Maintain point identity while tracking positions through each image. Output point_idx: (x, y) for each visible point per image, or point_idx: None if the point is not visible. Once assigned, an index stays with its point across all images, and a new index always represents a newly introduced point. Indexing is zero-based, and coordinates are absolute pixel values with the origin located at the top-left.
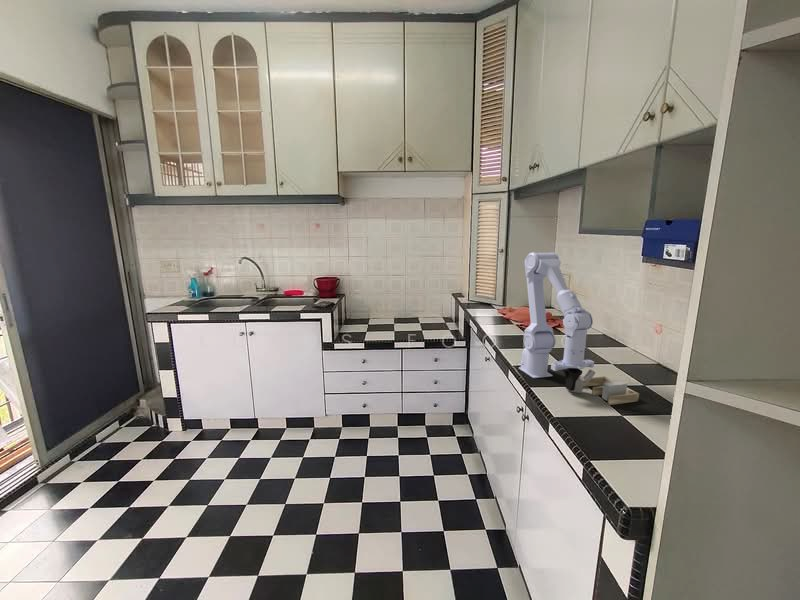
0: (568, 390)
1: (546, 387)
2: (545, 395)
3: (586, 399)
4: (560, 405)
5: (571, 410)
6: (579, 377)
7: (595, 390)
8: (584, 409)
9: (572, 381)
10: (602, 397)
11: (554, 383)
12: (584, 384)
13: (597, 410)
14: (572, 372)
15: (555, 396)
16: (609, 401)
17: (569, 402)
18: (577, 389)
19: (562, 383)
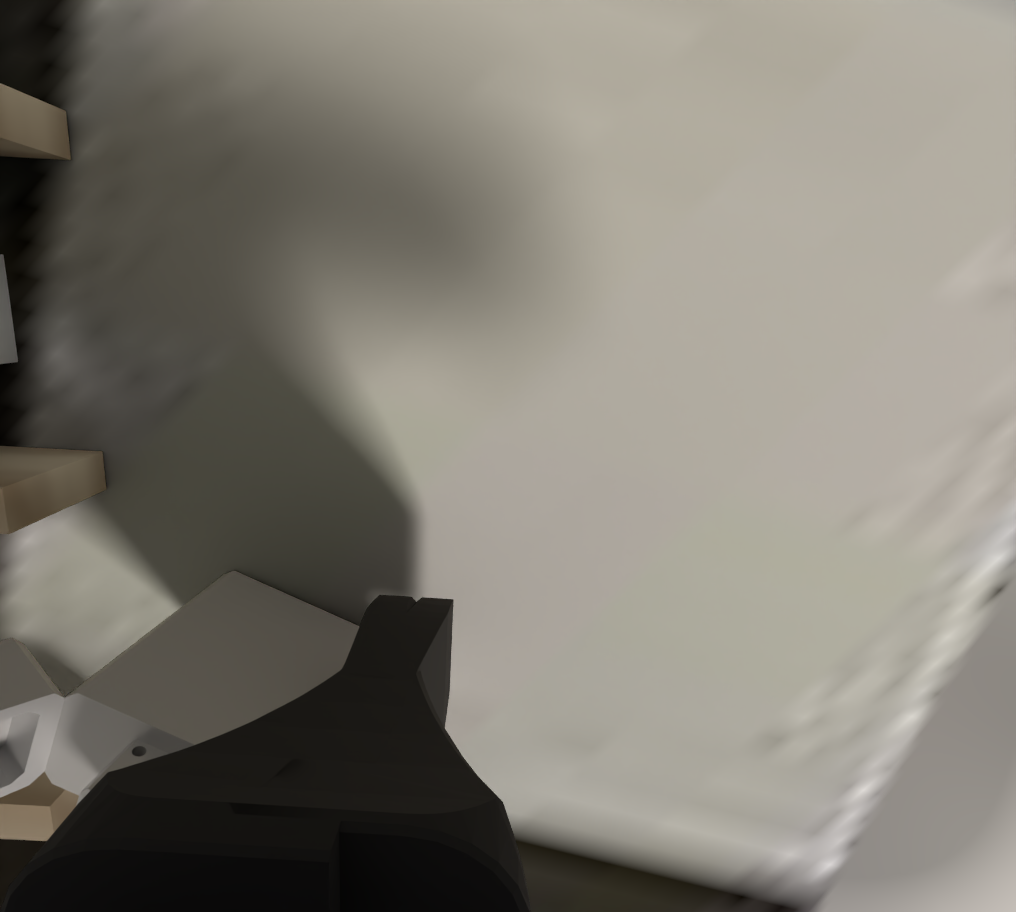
0: None
1: (605, 831)
2: (815, 656)
3: (306, 386)
4: (863, 346)
5: (836, 156)
6: None
7: (11, 471)
8: (602, 118)
9: (423, 692)
10: (5, 350)
11: None
12: None
13: (415, 19)
14: (500, 899)
15: (699, 593)
16: (21, 106)
17: (647, 384)
18: (270, 622)
19: None
